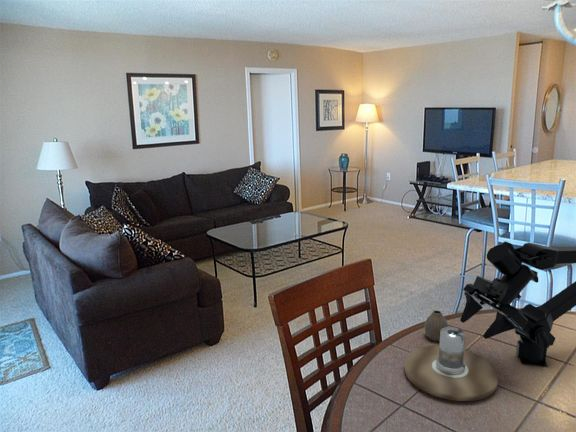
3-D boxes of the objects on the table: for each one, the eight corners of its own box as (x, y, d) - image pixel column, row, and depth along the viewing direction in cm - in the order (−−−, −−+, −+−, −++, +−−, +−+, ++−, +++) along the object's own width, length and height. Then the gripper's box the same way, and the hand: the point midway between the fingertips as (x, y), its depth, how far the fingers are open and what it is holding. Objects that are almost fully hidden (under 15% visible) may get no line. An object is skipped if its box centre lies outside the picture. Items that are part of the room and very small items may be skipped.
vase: (444, 332, 140) (446, 307, 138) (450, 344, 133) (451, 317, 131) (422, 332, 141) (423, 306, 139) (426, 343, 134) (427, 316, 132)
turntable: (489, 357, 125) (490, 349, 124) (505, 410, 103) (506, 400, 103) (405, 348, 131) (405, 341, 130) (403, 396, 110) (403, 387, 109)
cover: (463, 361, 119) (465, 327, 117) (466, 376, 112) (469, 340, 110) (435, 358, 121) (437, 324, 119) (436, 373, 114) (438, 337, 112)
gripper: (470, 255, 122) (433, 298, 122) (521, 278, 105) (478, 329, 104) (493, 278, 126) (457, 320, 126) (546, 304, 108) (504, 353, 108)
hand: (472, 329), depth 116 cm, fingers open, 9 cm apart
